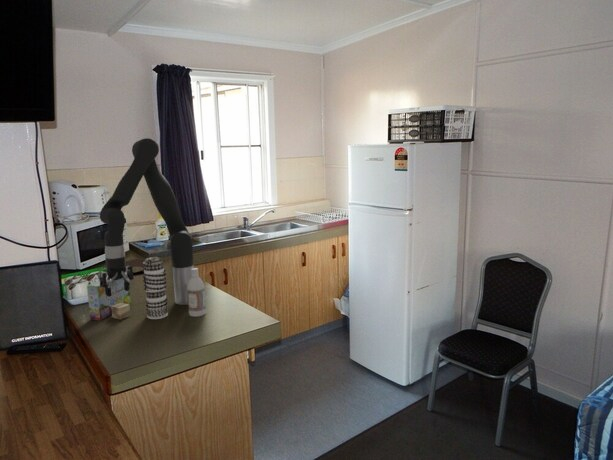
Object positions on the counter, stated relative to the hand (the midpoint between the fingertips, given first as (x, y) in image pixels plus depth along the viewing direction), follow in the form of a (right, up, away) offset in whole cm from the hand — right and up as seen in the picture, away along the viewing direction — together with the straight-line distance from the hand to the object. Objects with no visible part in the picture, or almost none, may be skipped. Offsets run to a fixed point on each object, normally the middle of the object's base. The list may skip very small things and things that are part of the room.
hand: (118, 293), depth 183 cm
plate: (-23, +3, +75) cm, 79 cm away
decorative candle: (+16, -10, +2) cm, 19 cm away
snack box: (-6, -9, +8) cm, 14 cm away
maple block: (+1, -10, +2) cm, 10 cm away
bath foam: (+33, -10, +3) cm, 34 cm away
